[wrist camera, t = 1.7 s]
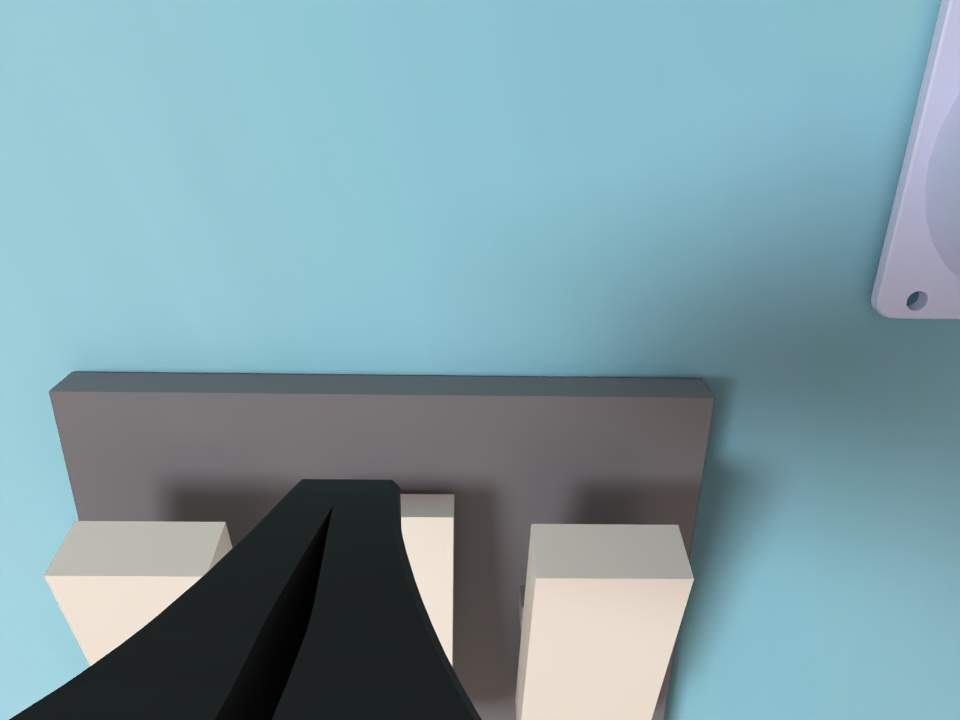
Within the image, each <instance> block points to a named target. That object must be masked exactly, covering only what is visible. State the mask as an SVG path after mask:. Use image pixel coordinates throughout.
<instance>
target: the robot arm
mask: <svg viewBox="0 0 960 720" xmlns="http://www.w3.org/2000/svg"><path fill="white" fill-rule="evenodd" d="M917 291H919V297H918V299H917V301H916V302H914V303H913V304H912V305H908V306H907V299H908V297H909V296H910V295H911V294H912V293H914V292H917ZM871 304H872V306H873V308H874V310H876V311H877V312H878V313H880V314H881V315H883V316H884V317H887V318H892V319H960V0H942V1H941V5H940V9H939V14H938V18H937V22H936V26H935V30H934V35H933V39H932V43H931V47H930V51H929V56H928V60H927V64H926V68H925V72H924V77H923V81H922V85H921V89H920V94H919V98H918V102H917V106H916V110H915V115H914V119H913V123H912V127H911V131H910V136H909V140H908V144H907V148H906V152H905V157H904V161H903V165H902V169H901V173H900V178H899V182H898V186H897V190H896V195H895V199H894V203H893V207H892V211H891V216H890V220H889V224H888V228H887V232H886V237H885V241H884V245H883V249H882V253H881V258H880V262H879V266H878V270H877V274H876V279H875V283H874V287H873V291H872V296H871ZM9 720H482V719H481V718H480V716H479V714H478V713H477V711H476V709H475V707H474V706H473V704H472V702H471V700H470V699H469V697H468V695H467V693H466V692H465V690H464V688H463V686H462V685H461V683H460V681H459V679H458V677H457V675H456V673H455V671H454V669H453V667H452V665H451V663H450V661H449V660H448V658H447V656H446V654H445V651H444V649H443V647H442V645H441V643H440V641H439V639H438V636H437V634H436V632H435V630H434V627H433V625H432V623H431V620H430V618H429V615H428V613H427V610H426V608H425V606H424V603H423V601H422V598H421V595H420V593H419V590H418V587H417V584H416V581H415V578H414V575H413V572H412V568H411V565H410V562H409V559H408V555H407V552H406V548H405V544H404V540H403V536H402V530H401V496H400V487H399V486H398V485H397V484H396V483H395V482H394V481H393V480H362V479H302V480H301V481H300V482H299V483H297V484H296V485H295V486H294V487H293V488H292V489H291V490H290V491H289V492H288V493H287V494H286V495H285V496H284V497H283V498H282V499H281V500H280V501H279V502H278V503H277V504H276V505H275V506H274V507H273V508H272V509H271V510H270V511H269V512H268V513H267V514H266V515H265V516H264V518H263V519H262V520H261V521H260V522H259V523H258V524H257V525H256V526H255V527H254V528H253V529H252V530H251V531H250V532H249V533H248V534H247V535H246V536H245V537H244V538H243V539H242V540H240V541H239V542H238V543H237V544H236V545H235V546H234V547H233V548H232V549H231V550H230V551H229V552H228V553H227V554H226V555H225V556H224V557H223V558H222V559H221V560H220V561H219V562H217V563H216V564H215V565H214V566H213V567H212V568H211V569H210V570H209V571H208V572H207V573H206V574H205V575H204V576H203V577H201V578H200V579H199V580H198V581H197V582H196V583H195V584H193V585H192V586H191V587H190V588H189V589H188V590H187V591H185V592H184V593H183V594H182V595H181V596H180V597H178V598H177V599H176V600H175V601H174V602H173V603H171V604H170V605H169V606H168V607H167V608H166V609H165V610H163V611H162V612H161V613H160V614H159V615H158V616H156V617H155V618H154V619H153V620H152V621H150V622H149V623H148V624H147V625H145V626H144V627H143V628H141V629H140V630H139V631H138V632H136V633H135V634H134V635H132V636H131V637H130V638H128V639H127V640H126V641H125V642H123V643H122V644H121V645H119V646H118V647H116V648H115V649H114V650H112V651H111V652H110V653H108V654H107V655H105V656H104V657H103V658H101V659H100V660H99V661H97V662H96V663H94V664H93V665H92V666H90V667H89V668H87V669H86V670H85V671H83V672H82V673H81V674H79V675H78V676H76V677H75V678H73V679H72V680H70V681H69V682H67V683H66V684H64V685H63V686H61V687H60V688H58V689H57V690H55V691H54V692H52V693H50V694H49V695H47V696H46V697H44V698H43V699H41V700H39V701H38V702H36V703H35V704H33V705H32V706H30V707H28V708H27V709H25V710H24V711H22V712H20V713H19V714H17V715H16V716H14V717H13V718H11V719H9Z"/></svg>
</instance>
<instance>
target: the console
mask: <svg viewBox="0 0 960 720" xmlns="http://www.w3.org/2000/svg"><path fill="white" fill-rule="evenodd" d="M49 394H50V398H51V403H52V407H53V411H54V416H55V420H56V424H57V428H58V433H59V437H60V441H61V445H62V450H63V454H64V458H65V463H66V467H67V471H68V475H69V480H70V484H71V488H72V492H73V497H74V501H75V505H76V510H77V514H78V518H79V521H166V522H226V526H227V529H228V533H229V537H230V541H231V544H232V548H233V547H234V546H235V545H236V544H237V543H238V542H239V541H240V540H242V539H243V538H244V537H245V536H246V535H247V534H248V533H249V532H250V531H251V530H252V529H253V528H254V527H255V526H256V525H257V524H258V523H259V522H260V521H261V520H262V519H263V518H264V516H265V515H266V514H267V513H268V512H269V511H270V510H271V509H272V508H273V507H274V506H275V505H276V504H277V503H278V502H279V501H280V500H281V499H282V498H283V497H284V496H285V495H286V494H287V493H288V492H289V491H290V490H291V489H292V488H293V487H294V486H295V485H296V484H297V483H299V482H300V481H301V480H302V479H362V480H393V481H394V482H395V483H396V484H397V485H398V486H399V487H400V494H454V603H453V669H454V671H455V673H456V675H457V677H458V679H459V681H460V683H461V685H462V686H463V688H464V690H465V692H466V693H467V695H468V697H469V699H470V700H471V702H472V704H473V706H474V707H475V709H476V711H477V713H478V714H479V716H480V718H481V719H482V720H516V706H515V696H516V685H517V674H518V663H519V652H520V642H521V631H522V620H523V609H524V598H525V587H526V576H527V565H528V554H529V543H530V532H531V524H634V525H678V526H679V529H680V533H681V536H682V540H683V543H684V546H685V550H686V553H687V557H688V560H689V556H690V550H691V543H692V537H693V531H694V525H695V518H696V512H697V506H698V499H699V493H700V487H701V481H702V474H703V468H704V462H705V455H706V449H707V443H708V437H709V430H710V424H711V418H712V411H713V405H714V399H715V398H714V396H713V395H712V393H711V392H710V391H709V389H708V388H707V386H706V385H705V383H704V382H703V380H702V379H696V378H601V377H506V376H410V375H315V374H220V373H124V372H71V373H70V374H69V375H68V376H67V377H65V378H64V379H63V380H62V381H61V382H59V383H58V384H57V385H56V386H55V387H53V388H52V389H51V390H50V391H49ZM676 638H677V637H676ZM675 644H676V640H675V643H674V647H673V650H672V653H671V657H670V660H669V663H668V667H667V670H666V673H665V676H664V680H663V683H662V686H661V690H660V693H659V696H658V700H657V703H656V706H655V709H654V713H653V716H652V719H651V720H663V719H664V713H665V707H666V700H667V694H668V688H669V682H670V675H671V669H672V663H673V657H674V650H675Z"/></svg>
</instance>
